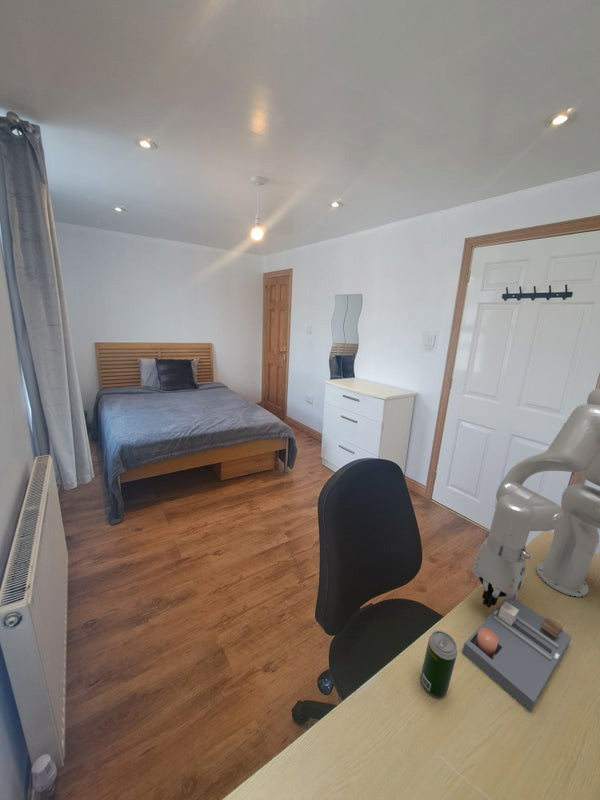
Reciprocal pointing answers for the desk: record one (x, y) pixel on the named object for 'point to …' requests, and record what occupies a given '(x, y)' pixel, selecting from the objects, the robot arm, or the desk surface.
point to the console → (519, 653)
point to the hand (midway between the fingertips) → (488, 603)
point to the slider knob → (508, 613)
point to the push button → (487, 641)
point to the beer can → (438, 663)
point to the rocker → (552, 626)
